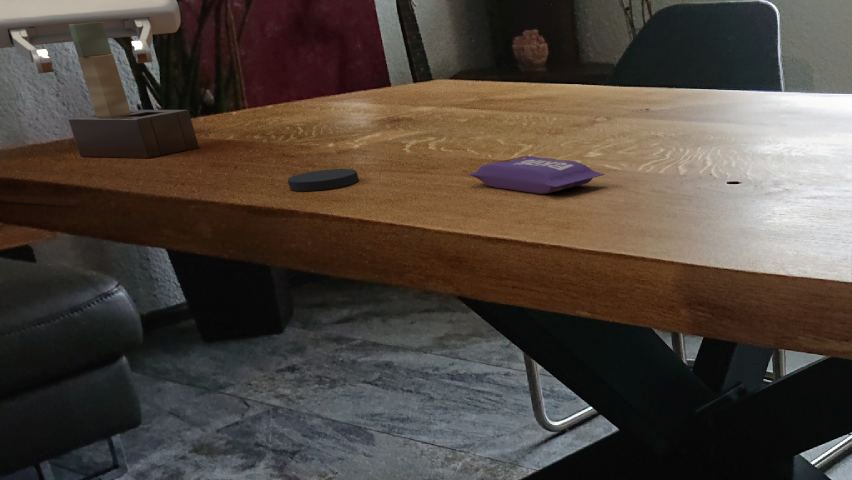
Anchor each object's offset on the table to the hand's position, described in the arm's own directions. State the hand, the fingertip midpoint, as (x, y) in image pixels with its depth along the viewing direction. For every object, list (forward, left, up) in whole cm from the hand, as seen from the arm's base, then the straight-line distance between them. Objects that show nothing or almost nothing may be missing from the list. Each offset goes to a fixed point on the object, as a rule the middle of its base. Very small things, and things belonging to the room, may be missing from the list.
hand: (96, 63), depth 118 cm
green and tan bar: (+1, -2, -9) cm, 9 cm away
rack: (+2, -4, -9) cm, 10 cm away
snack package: (+39, -52, -9) cm, 66 cm away
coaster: (+23, -39, -9) cm, 46 cm away
